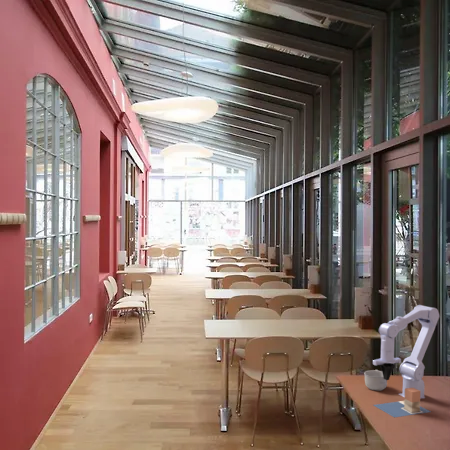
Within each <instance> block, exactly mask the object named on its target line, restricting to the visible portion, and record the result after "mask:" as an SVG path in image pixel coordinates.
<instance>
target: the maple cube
mask: <svg viewBox="0 0 450 450" xmlns="http://www.w3.org/2000/svg"><path fill="white" fill-rule="evenodd" d="M403 401H404V409H405V410H407V411H409V412H411V413H413V412H420V406H421V400H420V401H419V402H410V401H408V400H406V399H405V398H404V400H403Z"/></svg>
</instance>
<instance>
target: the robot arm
mask: <svg viewBox="0 0 450 450" xmlns="http://www.w3.org/2000/svg"><path fill="white" fill-rule="evenodd" d="M439 319H440V312H439V310H438V309H437V308H436V307H431V306H426V305H422V304H418V305H416V306H414V308H413V309H412V310H411V311H410V312H408V313H407V314H405V315H404V316H396V317H395V318H393V320H389V321H388V322H387V323H386V322H384V323H382V324H380V326H379V328H378V333H379V334H380V335H379V336H380V358H376V359H374V360H373V359H372V365H374V366H379V367H380V371H382V373H383V377H384V379H385V380H387V381H389V380H390V378H391V375H392V372H393V370H394V369H395V366H396V365H395V364H400V366H399V373H400V374H401V377H402V393H401V392H400V393H398V395H399V396H401V397H403V398H405V389H406V388H415V389H417V390H419V391H421V392H420V400H421V399H425V398H426V397H425V382H424V380H423V379H422V378H424V372H425V371H424V370H425V369H426V367H425V365H424V363H423V359H424V356H425V353H426V351H427V349H428V346H429V345H430V342H431V339H432V337H433V334H434V331H435V329H436V326H437V325H438V321H439ZM416 320H418V322H419V324H421V330H420V332H419V333H418V336H417V338H416V341H415V344H414V346H413V348H412V351H411V354H410V356H408V357H405V358H404V359H403V362H402V359H401V358H400V357H395V338H396V337H397V336H398V334H399V332H400V331H403V330H404V329H406V328H407V327H408V324H410V323H412V322H413V321H416Z"/></svg>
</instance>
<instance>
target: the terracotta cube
mask: <svg viewBox="0 0 450 450" xmlns="http://www.w3.org/2000/svg"><path fill="white" fill-rule="evenodd" d="M420 392H421V391H419V390H417V389H415V388H406V389H405V397H404V400H405V399H406V400H408V401H410V402H419V401H420V402H421V399H420Z"/></svg>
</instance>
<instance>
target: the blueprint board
mask: <svg viewBox="0 0 450 450" xmlns="http://www.w3.org/2000/svg"><path fill="white" fill-rule="evenodd" d="M404 401H405V400H401V401H392V402H385V403H377V404H373V406H374V407H375V408H377V409H379V410H381V412H382V411H383V412H384V413H386V414H388V415H389V416H391V417H393V418H401V417H406V416H413V415H414V416H415V415H419V414H427V413H431V412H432V411H431V410H429V409H426V408H425V407H423V406H421V405H420V412H413V413H411V412H409V411H407V410H405V409H404Z"/></svg>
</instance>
